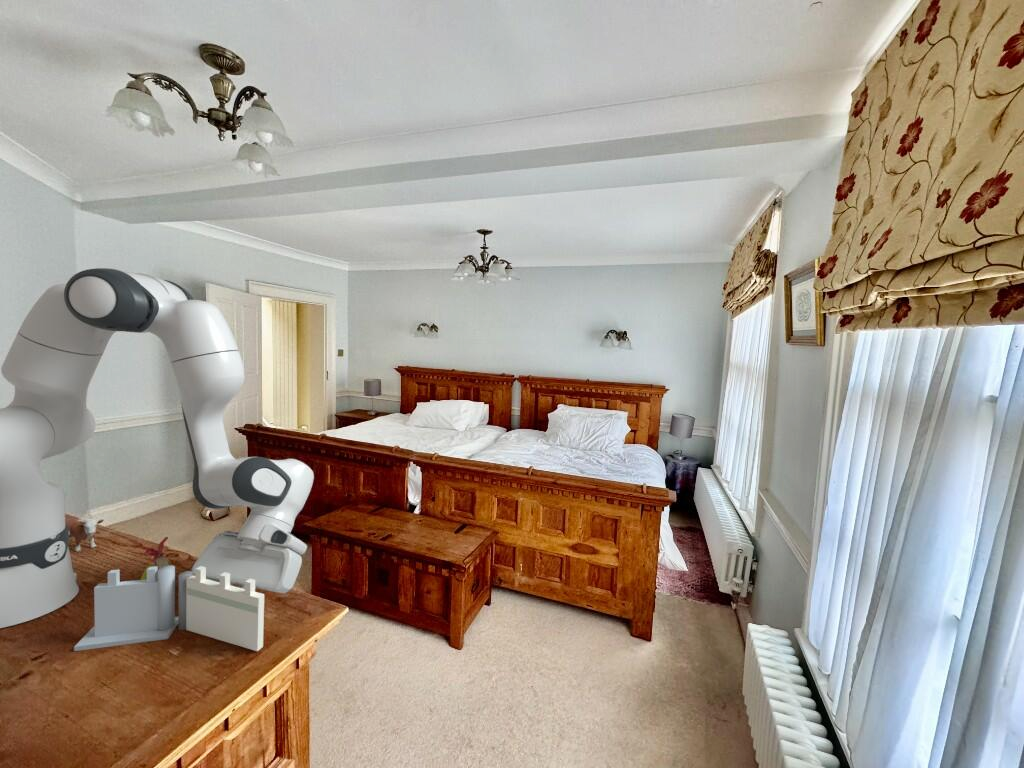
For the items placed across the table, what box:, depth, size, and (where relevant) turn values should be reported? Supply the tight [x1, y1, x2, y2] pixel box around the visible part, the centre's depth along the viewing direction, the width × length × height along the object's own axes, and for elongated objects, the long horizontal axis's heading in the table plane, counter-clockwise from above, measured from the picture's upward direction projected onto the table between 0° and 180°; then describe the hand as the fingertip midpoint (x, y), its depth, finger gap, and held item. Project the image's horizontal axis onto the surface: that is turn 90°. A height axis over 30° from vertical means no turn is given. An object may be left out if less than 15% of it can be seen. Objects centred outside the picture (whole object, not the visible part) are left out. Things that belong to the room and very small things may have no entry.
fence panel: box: [177, 566, 265, 652], centre depth 73 cm, size 18×2×12 cm, turn 77°
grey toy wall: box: [73, 564, 178, 652], centre depth 72 cm, size 13×5×12 cm, turn 109°
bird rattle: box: [139, 536, 174, 580], centre depth 86 cm, size 6×11×9 cm
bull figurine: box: [65, 517, 104, 553], centre depth 98 cm, size 4×13×8 cm, turn 79°
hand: (223, 611), depth 75 cm, fingers closed
